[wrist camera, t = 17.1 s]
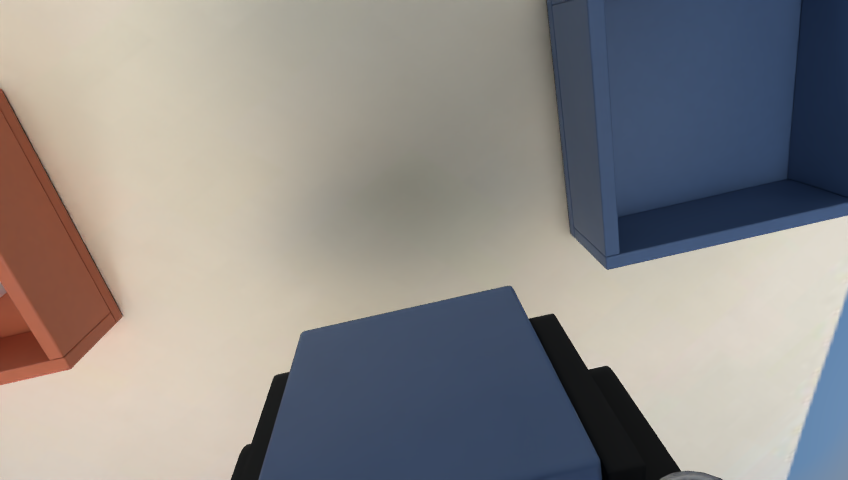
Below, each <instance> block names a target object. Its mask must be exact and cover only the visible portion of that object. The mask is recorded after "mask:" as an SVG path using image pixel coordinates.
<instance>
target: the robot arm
mask: <svg viewBox="0 0 848 480" xmlns="http://www.w3.org/2000/svg"><path fill="white" fill-rule="evenodd" d="M529 321H530V323H531V325H532V327H533V329H534V330H535V332H536V334H537V336H538V338H539V340H540V342H541V344H542V346H543V348H544V350H545V352H546V354H547V356H548V358H549V360H550V362H551V364H552V366H553V368H554V370H555V372H556V374H557V376H558V378H559V380H560V382H561V384H562V386H563V388H564V390H565V392H566V393H567V395H568V397H569V399H570V401H571V403H572V405H573V407H574V409H575V411H576V413H577V415H578V417H579V419H580V421H581V423H582V425H583V427H584V429H585V431H586V433H587V435H588V437H589V439H590V441H591V443H592V445H593V447H594V449H595V451H596V453H597V455H598V456H599V458H600V463H601V474H602V480H722V479H721V478H718V477H715V476H712V475H709V474H706V473H702V472H694V471H682V472H681V470H680V469H679V467H678V466H677V464H676V463H675V461H674V460H673V459H672V457H671V456H670V454H669V453H668V451H667V450H666V448H665V447H664V445H663V444H662V442H661V441H660V439H659V438H658V436H657V435H656V434H655V432H654V431H653V429H652V428H651V426H650V425H649V423H648V422H647V420H646V419H645V417H644V416H643V414H642V413H641V411H640V410H639V409H638V407H637V406H636V404H635V403H634V401H633V400H632V398H631V397H630V395H629V394H628V392H627V391H626V389H625V388H624V387H623V385H622V384H621V382H620V381H619V379H618V378H617V376H616V375H615V373H614V372H613V371H612V370H611V368H610V367H608V366H603V367H598V368H594V369H589V370H588V369H587V367H586V366H585V364H584V362H583V361H582V359H581V357H580V356H579V354H578V352H577V351H576V349H575V347H574V346H573V344H572V342H571V341H570V339H569V338H568V336H567V334H566V333H565V331H564V329H563V328H562V326H561V324H560V323H559V321H558V319H557V318H556V316H555V315H554V314H548V315H544V316H539V317H535V318H530V319H529ZM289 373H290V372H287V373H283V374H278V375H276V376H274V378H273V381H272V384H271V387H270V390H269V393H268V396H267V399H266V402H265V405H264V408H263V411H262V413H261V416H260V419H259V422H258V425H257V428H256V431H255V434H254V437H253V440H252V443H251V444H248V445H246V446H245V447H244V448H243V449H242V451H241V453H240V455H239V458H238V461H237V464H236V466H235V469H234V472H233V475H232V478H231V480H258V479H259V476H260V473H261V469H262V466H263V462H264V459H265V455H266V452H267V449H268V445H269V442H270V438H271V435H272V431H273V428H274V424H275V421H276V418H277V414H278V411H279V407H280V404H281V400H282V397H283V394H284V390H285V387H286V383H287V380H288V376H289Z"/></svg>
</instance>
